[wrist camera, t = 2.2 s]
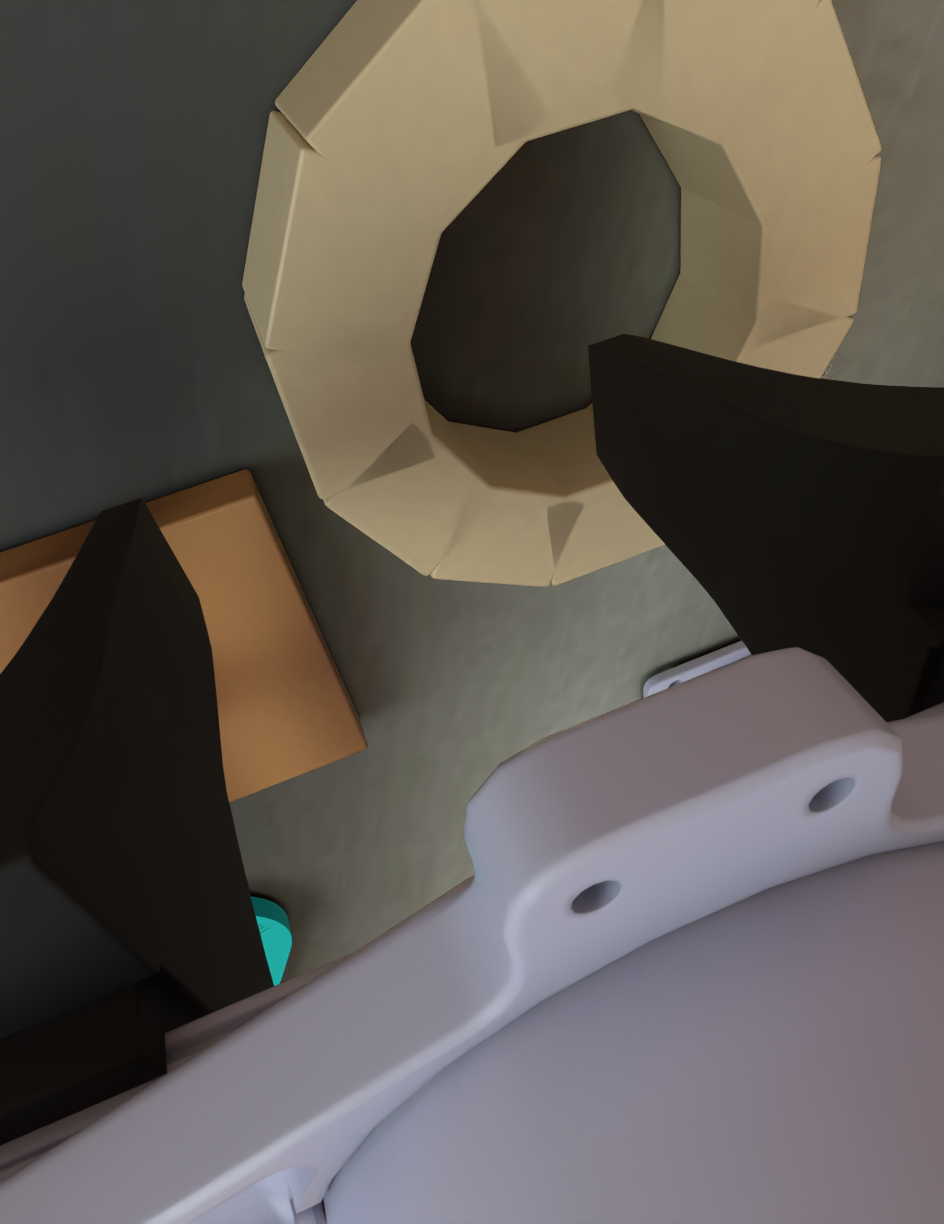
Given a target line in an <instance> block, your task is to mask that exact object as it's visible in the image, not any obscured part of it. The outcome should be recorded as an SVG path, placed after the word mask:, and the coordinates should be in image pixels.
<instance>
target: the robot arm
mask: <svg viewBox="0 0 944 1224" xmlns="http://www.w3.org/2000/svg"><path fill="white" fill-rule="evenodd" d="M588 352H589V365H590V378H591V390H592V403H593V416H594V429H595V442H596V455H597V456H598V458H599V459H600V461H601V463H602V464H603V466H604V468H605V469H606V471H607V472H608V474H609V476H610V477H611V479H612V480H613V482H614V483H615V485H616V486H617V488H618V489H619V491H620V492H621V494H622V495H623V497H624V498H625V499H626V501H627V502H628V503H629V504H630V505H631V506H632V508H633V509H634V510H635V511H636V512H637V513H638V514H639V516H640V517H641V518H642V519H643V520H644V521H645V522H646V524H647V525H648V526H649V527H650V528H651V529H652V530H653V531H654V532H655V534H656V535H657V536H658V537H659V538H660V539H661V540H662V541H663V542H664V544H665V545H666V546H667V547H668V548H669V549H670V550H671V551H672V552H673V554H674V555H675V556H676V557H677V558H678V559H679V560H680V561H681V562H682V564H683V565H684V566H685V567H686V568H687V569H688V570H689V571H690V572H691V574H692V575H693V576H694V577H695V578H696V579H697V580H698V581H699V583H700V584H701V585H702V586H703V587H704V589H705V590H706V591H707V592H708V594H709V595H710V596H711V597H712V599H713V600H714V601H715V602H716V604H717V605H718V607H719V608H720V610H721V611H722V612H723V614H724V615H725V617H726V618H727V620H728V621H729V622H730V624H731V625H732V627H733V628H734V630H735V631H736V632H737V634H738V635H739V637H740V638H741V641H739V642H736V643H734V644H731V645H729V646H726V647H724V648H721V649H719V650H716V651H714V652H711V653H709V654H706V655H704V656H701V657H699V658H696V659H694V660H691V661H689V662H686V663H684V664H681V665H679V666H676V667H674V668H671V669H669V670H666V671H664V672H661V673H659V674H656V675H654V676H652V677H651V678H650V679H648V680H647V682H646V683H645V685H644V688H643V697H644V698H642V699H640V700H637V701H635V702H632V703H630V704H627V705H625V706H622V707H620V708H617V709H615V710H612V711H610V712H607V713H605V714H603V715H600V716H598V717H595V718H593V719H590V720H588V721H585V722H583V723H580V724H578V725H575V726H573V727H570V728H568V729H565V730H563V731H560V732H558V733H555V734H553V735H550V736H548V737H545V738H543V739H541V740H539V741H537V742H536V743H534V744H532V745H531V746H529V747H527V748H526V749H524V750H522V751H521V752H519V753H517V754H516V755H514V756H512V757H510V758H509V759H507V760H505V761H504V762H502V763H500V764H499V765H498V766H497V768H496V769H495V770H494V771H493V772H492V774H491V775H490V776H489V777H488V778H487V780H486V781H485V782H484V783H483V785H482V786H481V787H480V788H479V789H478V791H477V792H476V793H475V794H474V795H473V797H472V798H471V800H470V801H469V803H468V804H467V811H466V820H465V828H464V839H465V842H466V845H467V848H468V850H469V853H470V856H471V859H472V862H473V866H474V875H473V876H471V877H470V878H468V879H467V880H465V881H463V882H462V883H460V884H459V885H457V886H456V887H454V888H453V889H451V890H450V891H448V892H447V893H445V894H443V895H442V896H440V897H439V898H437V899H436V900H434V901H433V902H431V903H430V904H428V905H427V906H425V907H423V908H422V909H420V910H419V911H417V912H416V913H414V914H413V915H411V916H410V917H408V918H407V919H405V920H403V921H402V922H400V923H399V924H397V925H396V926H394V927H393V928H391V929H390V930H388V931H387V932H385V933H383V934H382V935H380V936H379V937H377V938H376V939H374V940H373V941H371V942H370V943H368V944H366V945H365V946H363V947H362V948H360V949H359V950H357V951H356V952H354V953H352V954H349V955H347V956H344V957H342V958H340V959H337V960H335V961H333V962H330V963H328V964H326V965H323V966H321V967H319V968H316V969H314V970H312V971H309V972H307V973H304V974H302V975H300V976H297V977H295V978H293V979H290V980H288V981H286V982H283V983H281V984H279V985H276V986H274V983H273V980H272V976H271V973H270V969H269V966H268V962H267V958H266V954H265V950H264V946H263V942H262V939H261V935H260V931H259V927H258V923H257V919H256V915H255V911H254V908H253V904H252V900H251V896H250V891H249V887H248V883H247V879H246V875H245V870H244V866H243V862H242V858H241V853H240V849H239V845H238V841H237V836H236V831H235V827H234V822H233V818H232V813H231V808H230V804H229V799H228V795H227V789H226V782H225V776H224V769H223V760H222V749H221V738H220V727H219V716H218V705H217V694H216V684H215V674H214V664H213V655H212V648H211V644H210V639H209V635H208V631H207V627H206V623H205V619H204V615H203V611H202V607H201V603H200V600H199V596H198V595H197V593H196V591H195V589H194V588H193V586H192V584H191V582H190V581H189V579H188V577H187V575H186V574H185V572H184V570H183V569H182V567H181V565H180V563H179V562H178V560H177V558H176V556H175V555H174V553H173V551H172V549H171V548H170V546H169V544H168V542H167V541H166V539H165V537H164V535H163V534H162V532H161V530H160V528H159V527H158V525H157V523H156V521H155V520H154V518H153V516H152V514H151V513H150V511H149V509H148V507H147V506H146V504H145V502H144V500H143V499H142V498H140V499H137V500H134V501H131V502H128V503H125V504H122V505H119V506H116V507H113V508H110V509H107V510H104V511H102V512H101V513H100V515H99V516H98V518H97V519H96V521H95V523H94V525H93V526H92V528H91V530H90V532H89V534H88V535H87V537H86V539H85V541H84V543H83V545H82V547H81V548H80V550H79V552H78V554H77V556H76V558H75V560H74V561H73V563H72V565H71V567H70V568H69V570H68V572H67V574H66V575H65V577H64V579H63V581H62V582H61V584H60V586H59V588H58V590H57V591H56V593H55V595H54V596H53V598H52V600H51V601H50V603H49V604H48V606H47V607H46V609H45V610H44V612H43V614H42V615H41V617H40V618H39V620H38V621H37V623H36V624H35V626H34V627H33V629H32V631H31V632H30V634H29V635H28V637H27V638H26V640H25V641H24V643H23V644H22V646H21V647H20V649H19V650H18V651H17V653H16V654H15V656H14V657H13V658H12V660H11V661H10V662H9V663H8V665H7V666H6V667H5V669H4V670H3V671H2V673H1V674H0V1224H944V388H929V387H907V386H885V385H872V384H860V383H852V382H844V381H836V380H828V379H820V378H813V377H807V376H801V375H795V374H790V373H785V372H780V371H775V370H770V369H766V368H761V367H756V366H752V365H748V364H743V363H739V362H735V361H731V360H727V359H723V358H720V357H716V356H712V355H708V354H704V353H701V352H697V351H693V350H690V349H686V348H682V347H679V346H675V345H671V344H668V343H664V342H660V341H656V340H652V339H648V338H644V337H639V336H634V335H627V334H622V335H619V336H616V337H613V338H610V339H607V340H604V341H601V342H598V343H595V344H592V345H589V346H588Z"/></svg>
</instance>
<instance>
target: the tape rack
mask: <svg viewBox="0 0 944 1224" xmlns="http://www.w3.org/2000/svg"><path fill="white" fill-rule="evenodd" d="M145 504H146V506H147V507H148V509H149V511H150V513H151V514H152V516H153V518H154V520H155V521H156V523H157V525H158V527H159V528H160V530H161V532H162V534H163V535H164V537H165V539H166V541H167V542H168V544H169V546H170V548H171V549H172V551H173V553H174V555H175V556H176V558H177V560H178V562H179V563H180V565H181V567H182V569H183V570H184V572H185V574H186V575H187V577H188V579H189V581H190V582H191V584H192V586H193V588H194V589H195V591H196V593H197V595H198V596H199V600H200V603H201V607H202V611H203V615H204V619H205V623H206V627H207V631H208V635H209V639H210V644H211V648H212V655H213V664H214V674H215V684H216V694H217V705H218V716H219V727H220V738H221V749H222V760H223V769H224V776H225V782H226V789H227V795H228V799H229V802H232V801H235V800H237V799H240V798H242V797H245V796H247V795H250V794H252V793H255V792H258V791H260V790H263V789H265V788H268V787H270V786H273V785H275V784H278V783H281V782H283V781H286V780H288V779H291V778H293V777H296V776H298V775H301V774H304V773H306V772H309V771H311V770H314V769H316V768H319V767H321V766H324V765H327V764H329V763H332V762H334V761H337V760H339V759H342V758H344V757H347V756H350V755H352V754H355V753H357V752H360V751H362V750H365V749H367V747H368V744H367V741H366V738H365V735H364V732H363V728H362V725H361V722H360V719H359V717H358V715H357V712H356V710H355V708H354V706H353V703H352V701H351V699H350V696H349V694H348V692H347V690H346V687H345V685H344V683H343V681H342V678H341V676H340V674H339V672H338V669H337V667H336V665H335V663H334V660H333V658H332V656H331V654H330V651H329V649H328V647H327V644H326V642H325V640H324V638H323V635H322V633H321V631H320V629H319V626H318V624H317V622H316V620H315V617H314V615H313V613H312V611H311V608H310V606H309V604H308V602H307V599H306V597H305V595H304V593H303V590H302V588H301V586H300V583H299V581H298V579H297V577H296V574H295V572H294V570H293V568H292V565H291V563H290V561H289V559H288V556H287V554H286V552H285V550H284V547H283V545H282V543H281V541H280V538H279V536H278V534H277V531H276V529H275V527H274V525H273V522H272V520H271V518H270V516H269V513H268V511H267V509H266V507H265V504H264V502H263V500H262V498H261V495H260V493H259V491H258V489H257V486H256V484H255V482H254V479H253V477H252V475H251V473H250V471H249V470H248V469H244V470H241V471H238V472H235V473H232V474H229V475H226V476H224V477H221V478H218V479H215V480H212V481H209V482H206V483H203V484H200V485H197V486H194V487H191V488H188V489H185V490H182V491H179V492H177V493H174V494H171V495H168V496H165V497H162V498H159V499H156V500H153V501H150V502H147V503H145ZM95 521H96V520H94V521H91V522H88V523H85V524H82V525H80V526H77V527H74V528H71V529H68V530H65V531H62V532H59V533H56V534H53V535H50V536H47V537H44V538H41V539H38V540H35V541H32V542H30V543H27V544H24V545H21V546H18V547H15V548H12V549H9V550H6V551H3V552H0V674H1V673H2V671H3V670H4V669H5V667H6V666H7V665H8V663H9V662H10V661H11V660H12V658H13V657H14V656H15V654H16V653H17V651H18V650H19V649H20V647H21V646H22V644H23V643H24V641H25V640H26V638H27V637H28V635H29V634H30V632H31V631H32V629H33V627H34V626H35V624H36V623H37V621H38V620H39V618H40V617H41V615H42V614H43V612H44V610H45V609H46V607H47V606H48V604H49V603H50V601H51V600H52V598H53V596H54V595H55V593H56V591H57V590H58V588H59V586H60V584H61V582H62V581H63V579H64V577H65V575H66V574H67V572H68V570H69V568H70V567H71V565H72V563H73V561H74V560H75V558H76V556H77V554H78V552H79V550H80V548H81V547H82V545H83V543H84V541H85V539H86V537H87V535H88V534H89V532H90V530H91V528H92V526H93V525H94V523H95Z"/></svg>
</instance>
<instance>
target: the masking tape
mask: <svg viewBox="0 0 944 1224" xmlns="http://www.w3.org/2000/svg"><path fill="white" fill-rule="evenodd" d="M275 105H276V107H277V108H278V109H279V110H280V111H281V112H282V113H281V112H277V111H271V113H270V115H269V121H268V128H267V134H266V140H265V146H264V152H263V159H262V165H261V171H260V177H259V183H258V189H257V196H256V202H255V208H254V214H253V220H252V227H251V233H250V239H249V245H248V251H247V257H246V264H245V270H244V276H243V282H242V286H243V289H244V292H245V295H244V300H245V303H246V306H247V308H248V311H249V314H250V317H251V319H252V322H253V325H254V328H255V330H256V333H257V336H258V339H259V341H260V344H261V347H262V350H263V352H264V355H265V358H266V360H267V363H268V366H269V368H270V371H271V374H272V376H273V379H274V381H275V384H276V387H277V389H278V392H279V395H280V397H281V400H282V402H283V405H284V408H285V410H286V413H287V416H288V418H289V421H290V423H291V426H292V429H293V431H294V434H295V437H296V439H297V442H298V444H299V447H300V450H301V452H302V455H303V458H304V460H305V463H306V466H307V468H308V471H309V473H310V476H311V479H312V481H313V484H314V487H315V489H316V492H317V494H318V496H319V497H320V498H321V499H323V501H324V503H325V505H326V506H327V507H328V508H329V509H331V510H332V511H334V512H335V513H336V514H338V515H339V516H341V517H342V518H344V519H345V520H346V521H348V522H349V523H351V524H352V525H353V526H355V527H356V528H358V529H359V530H361V531H362V532H363V533H365V534H366V535H368V536H369V537H370V538H372V539H373V540H375V541H376V542H377V543H379V544H380V545H382V546H383V547H385V548H386V549H387V550H389V551H390V552H392V553H393V554H394V555H396V556H397V557H399V558H400V559H402V560H403V561H404V562H406V563H407V564H409V565H410V566H411V567H413V568H414V569H416V570H417V571H419V572H420V573H421V574H423V575H425V576H427V575H429V574H430V575H431V577H432V578H434V579H444V580H458V581H472V582H485V583H499V584H513V585H527V586H541V587H547V586H549V585H550V583H552V584H553V585H554V586H557V585H559V584H562V583H565V582H567V581H570V580H573V579H575V578H578V577H581V576H583V575H586V574H588V573H591V572H594V571H596V570H599V569H602V568H604V567H607V566H610V565H612V564H615V563H618V562H620V561H623V560H626V559H628V558H631V557H634V556H636V555H639V554H642V553H644V552H647V551H650V550H652V549H655V548H658V547H660V546H663V545H665V544H664V542H663V541H662V540H661V539H660V538H659V537H658V536H657V535H656V534H655V532H654V531H653V530H652V529H651V528H650V527H649V526H648V525H647V524H646V522H645V521H644V520H643V519H642V518H641V517H640V516H639V514H638V513H637V512H636V511H635V510H634V509H633V508H632V506H631V505H630V504H629V503H628V502H627V501H626V499H625V498H624V497H623V495H622V494H621V492H620V491H619V489H618V488H617V486H616V485H615V483H614V482H613V480H612V479H611V477H610V476H609V474H608V472H607V471H606V469H605V468H604V466H603V464H602V463H601V461H600V459H599V458H598V456H597V455H596V442H595V429H594V416H593V403H591V404H590V405H589V406H588V407H587V408H585V409H582V410H579V411H577V412H574V413H571V414H568V415H565V416H562V417H559V418H557V419H554V420H551V421H548V422H545V423H542V424H539V425H536V426H534V427H531V428H528V429H525V430H522V431H519V432H516V433H514V432H508V431H502V430H496V429H490V428H484V427H479V426H473V425H467V424H461V423H455V422H449V421H447V420H446V419H445V418H444V417H443V416H442V415H441V414H440V413H438V412H437V411H436V410H435V409H434V408H433V407H432V406H431V405H430V404H429V403H428V402H427V401H425V400H424V397H423V393H422V389H421V385H420V381H419V376H418V372H417V368H416V364H415V360H414V356H413V352H412V348H411V343H410V342H411V338H412V335H413V331H414V328H415V324H416V321H417V317H418V314H419V310H420V307H421V303H422V300H423V296H424V293H425V289H426V286H427V282H428V279H429V275H430V271H431V268H432V264H433V261H434V257H435V254H436V250H437V247H438V243H439V240H440V236H441V233H442V232H443V231H444V230H445V229H446V227H447V226H448V225H449V224H450V223H451V222H452V221H453V220H454V219H455V218H456V217H457V216H458V215H459V213H460V212H461V211H462V210H463V209H464V208H465V207H466V206H467V205H468V204H469V203H470V202H471V200H472V199H473V198H474V197H475V196H476V195H477V194H478V193H479V192H480V191H481V190H482V189H483V188H484V186H485V185H486V184H487V183H488V182H489V181H490V180H491V179H492V178H493V177H494V176H495V175H496V174H497V172H498V171H499V170H500V169H501V168H502V167H503V166H504V165H505V164H506V163H507V162H508V161H509V159H510V158H511V157H512V156H513V155H514V154H515V153H516V152H517V151H518V150H519V149H520V148H521V147H522V145H523V144H524V143H525V142H526V141H530V140H533V139H536V138H540V137H543V136H546V135H550V134H553V133H556V132H559V131H563V130H566V129H569V128H573V127H576V126H579V125H583V124H586V123H589V122H593V121H596V120H599V119H602V118H606V117H609V116H612V115H616V114H619V113H622V112H626V111H629V110H632V111H634V112H637V113H639V114H640V116H641V118H642V120H643V122H644V123H645V125H646V127H647V129H648V130H649V132H650V134H651V136H652V137H653V139H654V141H655V143H656V144H657V146H658V148H659V150H660V151H661V153H662V155H663V157H664V158H665V160H666V162H667V164H668V165H669V167H670V169H671V171H672V173H673V174H674V176H675V178H676V180H677V181H678V183H679V185H680V187H681V273H680V275H679V277H678V279H677V282H676V284H675V286H674V288H673V291H672V293H671V295H670V297H669V299H668V302H667V304H666V306H665V308H664V311H663V313H662V315H661V317H660V319H659V322H658V324H657V326H656V328H655V330H654V333H653V335H652V337H651V339H652V340H656V341H660V342H664V343H668V344H671V345H675V346H679V347H682V348H686V349H690V350H693V351H697V352H701V353H704V354H708V355H712V356H716V357H720V358H723V359H727V360H731V361H735V362H739V363H743V364H748V365H752V366H756V367H761V368H766V369H770V370H775V371H780V372H785V373H790V374H795V375H801V376H807V377H813V378H821V377H822V375H823V373H824V371H825V370H826V368H827V366H828V365H829V363H830V361H831V360H832V358H833V356H834V354H835V353H836V351H837V349H838V348H839V346H840V344H841V342H842V341H843V339H844V337H845V336H846V334H847V332H848V330H849V329H850V327H851V325H852V324H853V322H854V320H853V318H851V317H850V316H851V315H853V314H855V313H856V311H857V307H858V301H859V295H860V289H861V283H862V277H863V271H864V264H865V258H866V252H867V246H868V240H869V234H870V228H871V222H872V216H873V210H874V204H875V198H876V192H877V186H878V179H879V173H880V167H881V161H882V159H881V157H880V156H878V155H877V154H878V153H879V152H880V151H881V149H882V146H881V143H880V141H879V138H878V135H877V132H876V129H875V126H874V123H873V120H872V117H871V114H870V111H869V108H868V106H867V103H866V100H865V97H864V94H863V91H862V88H861V85H860V82H859V79H858V76H857V74H856V71H855V68H854V65H853V62H852V59H851V56H850V53H849V50H848V47H847V44H846V41H845V39H844V36H843V33H842V30H841V27H840V24H839V21H838V18H837V15H836V12H835V9H834V6H833V4H832V1H831V0H357V1H356V2H355V4H354V5H353V6H352V7H351V8H350V10H349V11H348V12H347V13H346V15H345V16H344V17H343V18H342V19H341V21H340V22H339V23H338V24H337V26H336V27H335V28H334V29H333V30H332V32H331V33H330V34H329V35H328V36H327V38H326V39H325V40H324V41H323V43H322V44H321V45H320V46H319V47H318V49H317V50H316V51H315V52H314V54H313V55H312V56H311V57H310V58H309V60H308V61H307V62H306V63H305V65H304V66H303V67H302V68H301V69H300V71H299V72H298V73H297V74H296V76H295V77H294V78H293V79H292V80H291V82H290V83H289V84H288V85H287V87H286V88H285V89H284V90H283V91H282V93H281V94H280V95H279V96H278V98H277V99H276V100H275Z"/></svg>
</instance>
